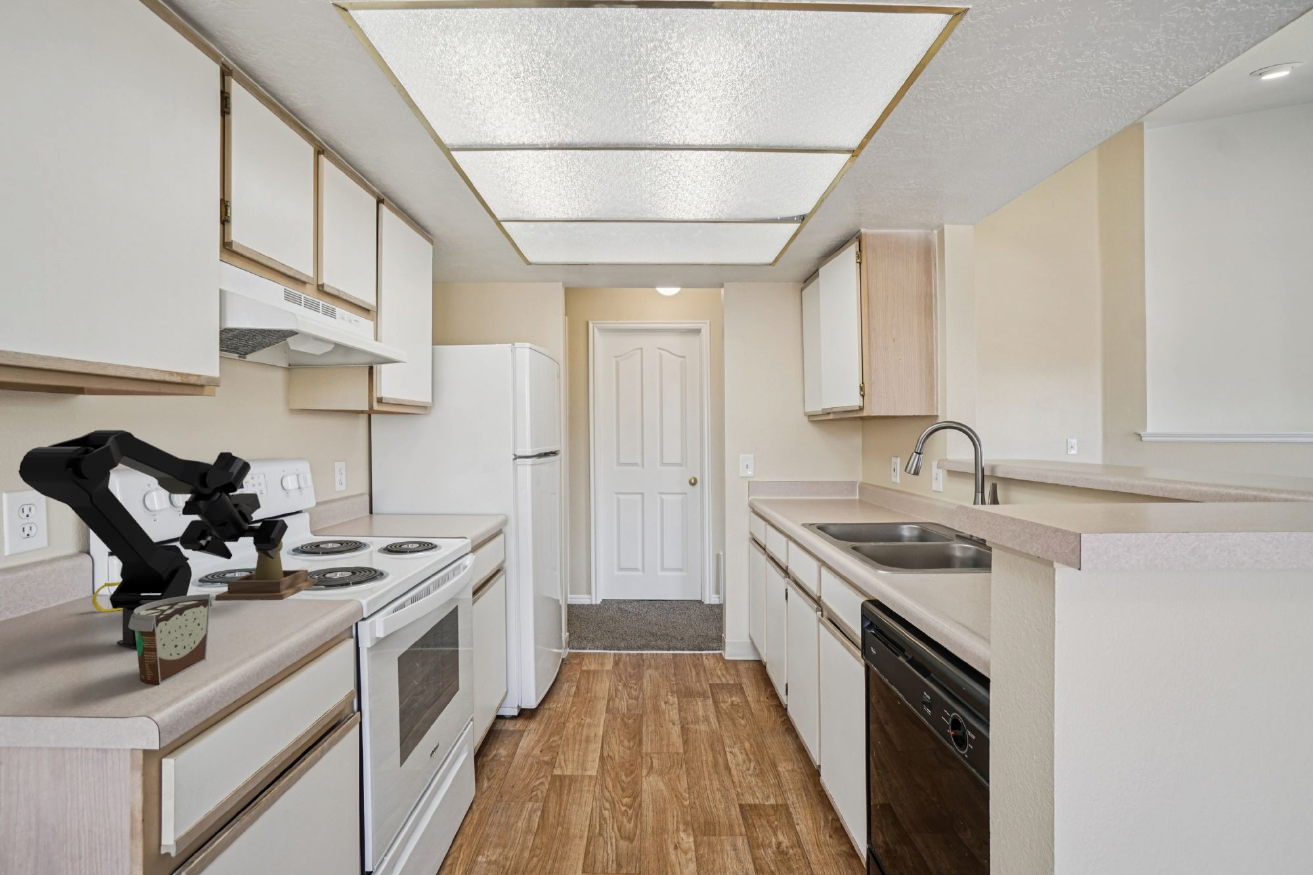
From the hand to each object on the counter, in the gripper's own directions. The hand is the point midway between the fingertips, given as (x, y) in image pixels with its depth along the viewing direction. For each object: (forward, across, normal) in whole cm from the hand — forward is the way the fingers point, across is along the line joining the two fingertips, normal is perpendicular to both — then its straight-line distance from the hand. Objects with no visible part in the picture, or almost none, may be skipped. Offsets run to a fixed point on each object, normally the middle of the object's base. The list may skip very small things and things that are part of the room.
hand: (252, 557), depth 127 cm
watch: (+1, +22, +12) cm, 25 cm away
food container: (-22, -12, +36) cm, 44 cm away
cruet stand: (+10, 0, +2) cm, 11 cm away
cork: (+10, 0, +2) cm, 10 cm away
